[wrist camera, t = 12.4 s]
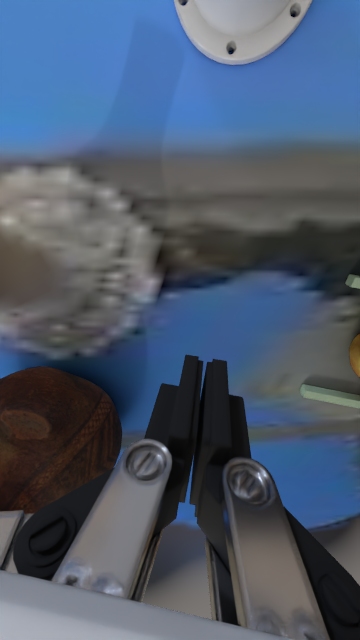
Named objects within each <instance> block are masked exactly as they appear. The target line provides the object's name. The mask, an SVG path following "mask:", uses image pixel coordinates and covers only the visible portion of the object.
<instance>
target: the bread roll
mask: <svg viewBox="0 0 360 640" xmlns="http://www.w3.org/2000/svg"><path fill="white" fill-rule="evenodd" d="M349 357H350V364H351V366H352V369H353V370H354V372H355V373H356V374H357V375H358V376H359V378H360V333H359V334H358V335H357V336H356V337H355V338H354V339H353V341H352V343H351V345H350V347H349Z"/></svg>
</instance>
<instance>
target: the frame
mask: <svg viewBox="0 0 360 640" xmlns="http://www.w3.org/2000/svg"><path fill="white" fill-rule="evenodd" d="M345 284H347V285H348V286H350V287H354V288H360V276H357V275H351V274H349V276H348V278H347V280H346V283H345ZM300 392H301V394H302V396H303V397H305V398H310V399H315V400H320V401H325V402H330V403H335V404H340V405H345V406H350V407H355V408H360V395H356V394H351V393H346V392H341V391H336V390H330V389H325V388H320V387H315V386H310V385H305V384H302V386H301V388H300Z"/></svg>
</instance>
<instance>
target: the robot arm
mask: <svg viewBox="0 0 360 640" xmlns="http://www.w3.org/2000/svg"><path fill="white" fill-rule="evenodd" d="M312 1H313V0H174V3H175V8H176V11H177V14H178V17H179V20H180V23H181V25H182V27H183V29H184V31H185V32H186V34H187V36H188V38H189V39H190V40H191V42H192V43H193V44H194V45H195V47H196V48H197V49H198V50H199V51H201V52H202V53H203V54H204V55H206V56H207V57H208V58H210V59H213V60H215V61H217V62H219V63H224V64H229V65H241V64H247V63H251V62H254V61H257V60H260V59H261V58H263V57H265V56H267V55H268V54H270V53H272V52H273V51H274V50H276V49H277V48H278V47H279V46H280V45H282V44H283V43H284V42H285V41H286V40H287V39H288V38H289V36H290V35H291V34H292V33H293V32H294V31H295V29H296V28H297V27H298V25H299V24H300V22H301V21H302V19H303V17H304V16H305V14H306V13H307V11H308V9H309V7H310V5H311V3H312ZM183 3H187V4H186V5H184V6H182V4H183ZM291 14H294V15H295V17H292V16H291ZM230 50H232V51H233V52H234V53H233V54H229V53H228V52H229V51H230ZM198 358H199V357H198V356H192V355H185V360H184V365H183V370H182V374H181V379H180V384H179V386H175V385H169V384H163V383H162V384H161V386H160V389H159V393H158V396H157V399H156V402H155V405H154V409H153V412H152V415H151V418H150V422H149V425H148V428H147V431H146V434H145V438H144V439H141V440H138V441H135V442H133V443H132V444H131V445H129V446H128V447H127V448H126V449H125V451H124V452H123V454H122V455H121V457H120V459H119V461H118V463H117V464H116V466H115V467H114V468H113V469H111V470H109V471H107V472H105V473H104V474H102V475H100V476H98V477H96V478H95V479H93V480H91V481H89V482H88V483H86V484H84V485H82V486H80V487H79V488H77V489H75V490H73V491H71V492H70V493H68V494H66V495H64V496H63V497H61V498H59V499H57V500H55V501H54V502H52V503H50V504H48V505H47V506H45V507H43V508H41V509H40V510H39V511H37V512H36V513H32V514H24V511H23V510H19V511H2V512H0V640H360V586H359V585H358V584H357V582H356V581H355V580H354V578H353V577H352V576H351V575H350V574H349V573H348V572H347V571H346V570H345V569H344V568H343V567H342V566H341V565H340V564H339V563H338V561H336V559H335V558H334V557H333V556H331V554H330V553H329V552H328V551H327V550H326V549H325V548H324V547H323V546H322V545H321V544H320V543H319V542H318V541H317V540H316V539H315V538H314V537H313V536H312V535H311V534H310V533H309V532H308V531H307V530H306V529H305V528H304V527H303V526H302V525H301V524H300V523H299V522H298V520H297V519H296V518H295V517H294V516H293V515H292V514H291V513H290V512H289V511H288V510H287V509H286V508H285V507H284V506H283V504H282V501H281V498H280V496H279V493H278V490H277V487H276V484H275V482H274V480H273V478H272V476H271V474H270V473H269V471H268V470H267V469H266V468H265V467H264V466H263V465H262V464H260V463H259V462H258V461H255V460H253V459H251V452H250V445H249V437H248V430H247V422H246V415H245V407H244V401H243V398H242V397H239V396H233V395H229V391H228V375H227V361H222V360H216V359H213V361H212V362H207V366H206V372H205V377H204V383H203V388H202V394H201V399H200V393H201V382H202V371H203V361H200V360H198ZM193 455H194V460H193ZM192 461H193V471H192V482H191V492H190V504H193V505H196V506H195V517H197V524H198V525H199V527H200V528H201V530H202V531H203V532H204V534H205V547H206V558H207V570H208V581H209V593H210V605H211V617H212V620H211V619H207V618H202V617H198V616H195V615H190V614H186V613H182V612H178V611H174V610H169V609H165V608H161V607H157V606H153V605H149V604H144V603H141V602H142V599H143V596H144V592H145V589H146V586H147V582H148V579H149V576H150V572H151V569H152V566H153V562H154V559H155V556H156V552H157V549H158V546H159V542H160V539H161V536H162V532H163V528H165V527H166V526H167V525H168V524H170V523H171V522H172V521H173V520H175V519H176V516H177V510H178V504H179V502H183V503H185V498H186V492H187V487H188V482H189V476H190V471H191V466H192Z"/></svg>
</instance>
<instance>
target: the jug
mask: <svg viewBox="0 0 360 640" xmlns="http://www.w3.org/2000/svg"><path fill="white" fill-rule="evenodd" d="M121 441H122V428H121V422H120V419H119V416H118V413H117V410H116V408H115V406H114V404H113V402H112V400H111V398H110V397H109V396H108V394H107V393H106V392H104V391H103V390H102V389H101V388H100V387H98V386H97V385H95V384H93V383H91V382H90V381H88V380H85V379H83V378H81V377H78V376H75V375H73V374H70V373H67V372H65V371H62V370H59V369H56V368H51V367H34V368H29V369H25V370H21V371H18V372H15V373H12V374H10V375H8V376H6V377H4V378H2V379H0V512H2V511H19V510H23V511H24V514H32V513H36V512H37V511H39V510H40V509H41V508H43V507H45V506H47V505H48V504H50V503H52V502H54V501H55V500H57V499H59V498H61V497H63V496H64V495H66V494H68V493H70V492H71V491H73V490H75V489H77V488H79V487H80V486H82V485H84V484H86V483H88V482H89V481H91V480H93V479H95V478H96V477H98V476H100V475H102V474H104V473H105V472H107V471H109V470H111V469H113V467H114V465H115V463H116V461H117V458H118V456H119V453H120V449H121Z"/></svg>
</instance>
